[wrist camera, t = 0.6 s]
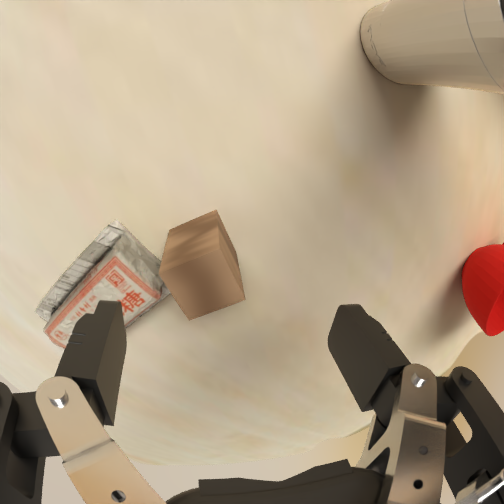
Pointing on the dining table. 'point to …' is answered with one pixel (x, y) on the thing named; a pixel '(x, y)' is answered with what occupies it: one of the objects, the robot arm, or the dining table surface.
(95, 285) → the packaged product
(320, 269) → the dining table surface
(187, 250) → the walnut block
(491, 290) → the ceramic cup
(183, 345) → the dining table surface
